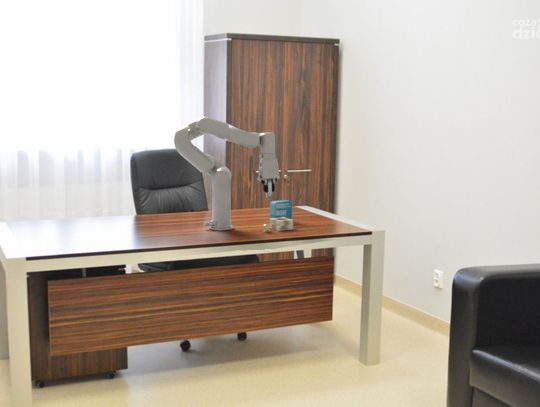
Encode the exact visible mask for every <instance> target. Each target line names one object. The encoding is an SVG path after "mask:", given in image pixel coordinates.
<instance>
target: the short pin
mask: <svg viewBox="0 0 540 407" xmlns="http://www.w3.org/2000/svg"><path fill="white" fill-rule="evenodd" d="M270 231H271V228H270V223H263V231H262V232H263V233H265V234H268V233H271V232H270Z"/></svg>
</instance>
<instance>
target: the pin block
mask: <svg viewBox="0 0 540 407" xmlns="http://www.w3.org/2000/svg"><path fill="white" fill-rule="evenodd" d="M269 224H270V230H275V231H278V232H282V231H289V230H294V219H293V218H292V219H288V218H285V217H281V218H271V219H270V218H269Z"/></svg>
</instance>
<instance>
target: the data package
mask: <svg viewBox="0 0 540 407" xmlns="http://www.w3.org/2000/svg"><path fill="white" fill-rule="evenodd" d="M269 208H270V209H269V220H270V219H271V218H281V217H285V218H288V219H292V220H293V202H292V201H291V200H287V199H282V200H273V201H270V204H269Z"/></svg>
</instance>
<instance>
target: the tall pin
mask: <svg viewBox="0 0 540 407" xmlns="http://www.w3.org/2000/svg"><path fill="white" fill-rule="evenodd" d="M267 185H268V192H267V193H266V192H265V198H266V199H273V192H272V179H267Z"/></svg>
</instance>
